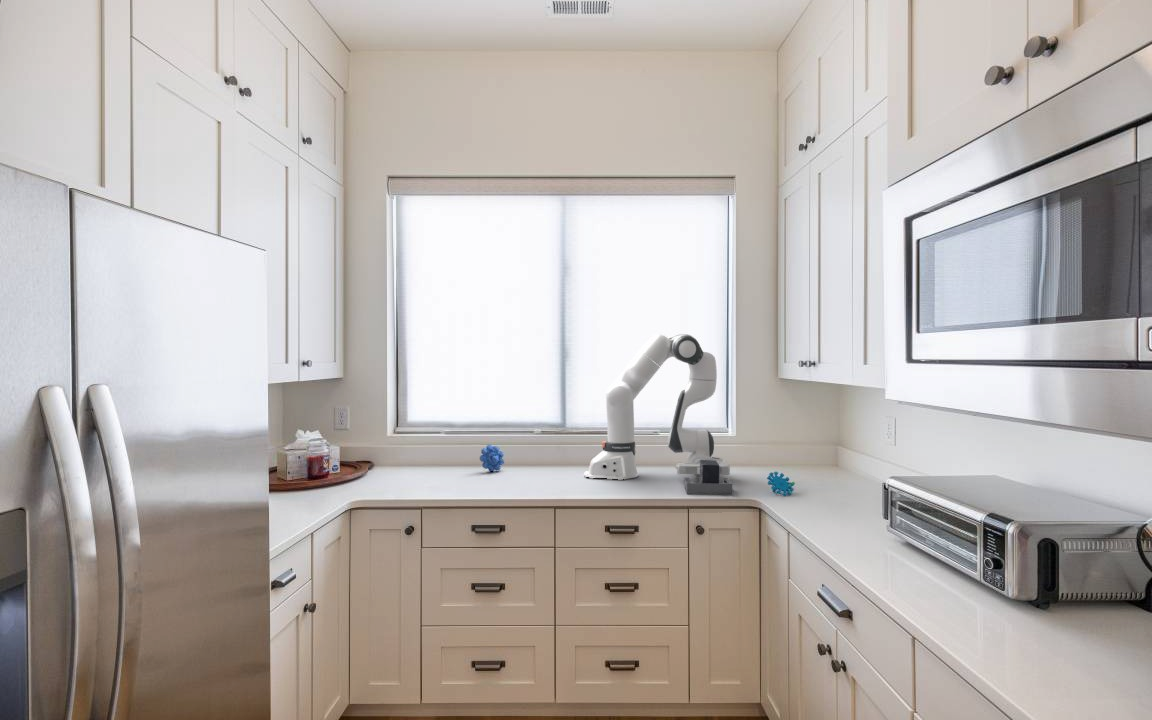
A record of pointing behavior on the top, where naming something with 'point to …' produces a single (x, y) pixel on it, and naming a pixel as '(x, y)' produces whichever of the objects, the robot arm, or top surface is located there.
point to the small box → (709, 471)
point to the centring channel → (708, 488)
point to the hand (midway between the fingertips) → (705, 472)
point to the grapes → (492, 458)
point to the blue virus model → (780, 483)
